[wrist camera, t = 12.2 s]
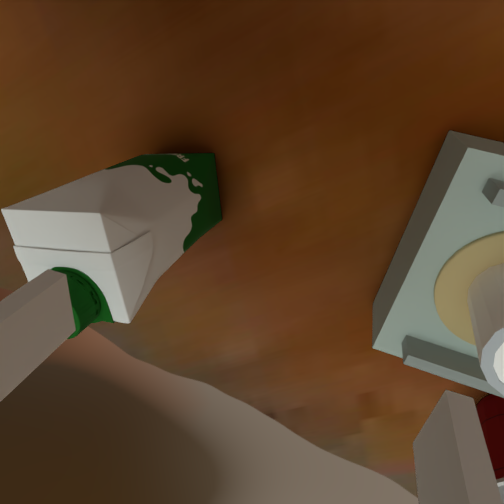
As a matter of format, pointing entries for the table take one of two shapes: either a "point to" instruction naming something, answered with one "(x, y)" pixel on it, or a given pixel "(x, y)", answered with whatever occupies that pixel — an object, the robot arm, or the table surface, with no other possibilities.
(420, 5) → the table surface
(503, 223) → the portable stove
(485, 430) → the plastic cup
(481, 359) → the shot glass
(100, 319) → the milk carton
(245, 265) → the table surface
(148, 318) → the table surface
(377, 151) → the table surface
